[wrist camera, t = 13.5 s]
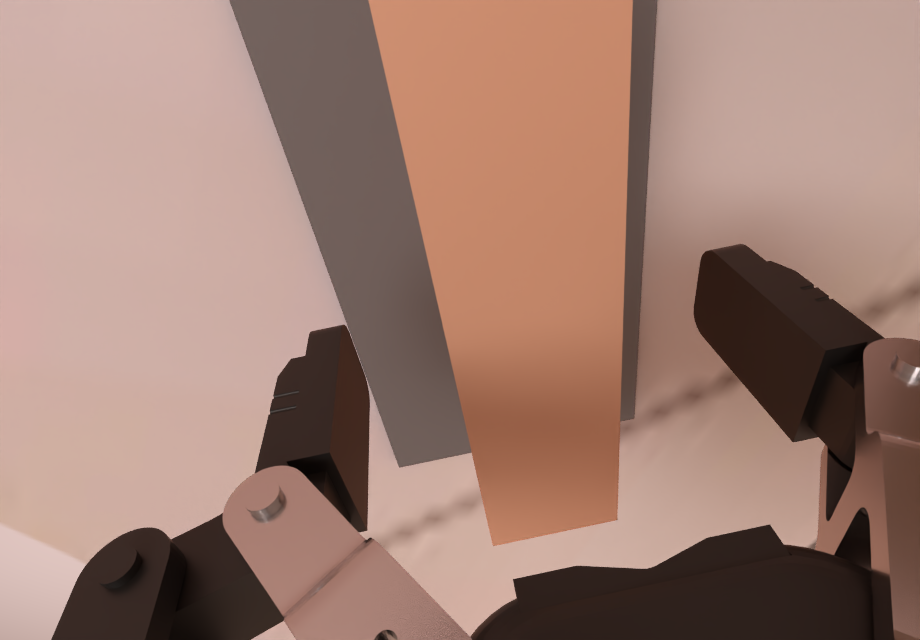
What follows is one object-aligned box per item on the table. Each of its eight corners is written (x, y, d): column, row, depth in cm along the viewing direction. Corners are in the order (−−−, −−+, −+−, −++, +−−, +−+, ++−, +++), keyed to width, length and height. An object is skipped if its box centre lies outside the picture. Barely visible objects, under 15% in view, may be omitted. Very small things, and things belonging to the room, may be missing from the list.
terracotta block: (363, -71, 13) (344, -105, 7) (513, -101, 13) (638, -165, 7) (461, 378, 23) (493, 545, 16) (549, 360, 23) (617, 519, 16)
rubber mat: (116, -328, 11) (105, -340, 10) (670, -438, 11) (682, -453, 10) (399, 459, 26) (399, 467, 25) (630, 411, 26) (634, 418, 26)
